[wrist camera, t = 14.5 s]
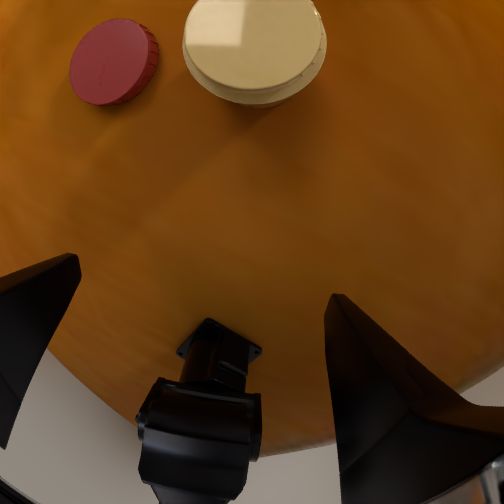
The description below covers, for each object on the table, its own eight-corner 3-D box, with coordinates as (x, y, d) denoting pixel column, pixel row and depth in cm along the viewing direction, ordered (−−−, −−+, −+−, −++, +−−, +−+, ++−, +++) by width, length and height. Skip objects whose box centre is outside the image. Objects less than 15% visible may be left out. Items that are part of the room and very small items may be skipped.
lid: (113, 13, 13) (101, 7, 12) (177, 43, 15) (168, 37, 13) (70, 84, 16) (56, 84, 14) (126, 120, 17) (113, 121, 16)
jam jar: (267, 126, 18) (267, 134, 10) (193, 76, 16) (141, 53, 8) (324, 61, 15) (365, 26, 7) (249, 10, 14) (237, -51, 6)
